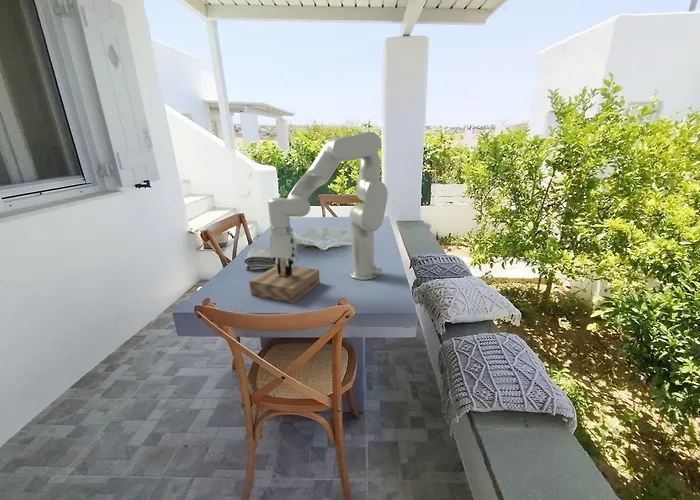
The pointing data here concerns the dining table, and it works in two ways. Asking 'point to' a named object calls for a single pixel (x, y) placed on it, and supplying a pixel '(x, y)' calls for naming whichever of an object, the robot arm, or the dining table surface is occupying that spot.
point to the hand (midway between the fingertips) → (285, 273)
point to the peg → (283, 268)
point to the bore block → (285, 284)
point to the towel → (259, 259)
